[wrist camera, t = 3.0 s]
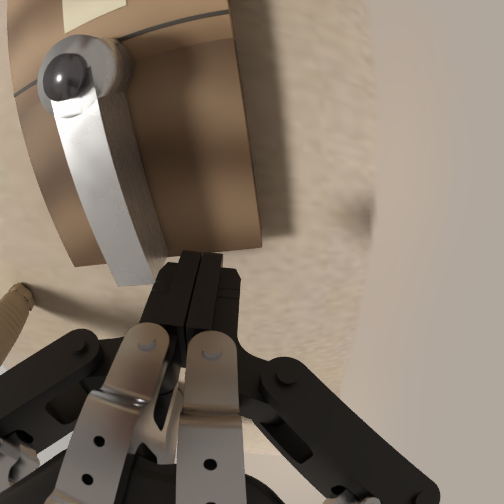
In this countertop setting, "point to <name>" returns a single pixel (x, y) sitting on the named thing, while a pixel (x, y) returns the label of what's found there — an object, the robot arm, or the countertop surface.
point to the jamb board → (150, 118)
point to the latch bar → (104, 151)
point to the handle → (13, 316)
